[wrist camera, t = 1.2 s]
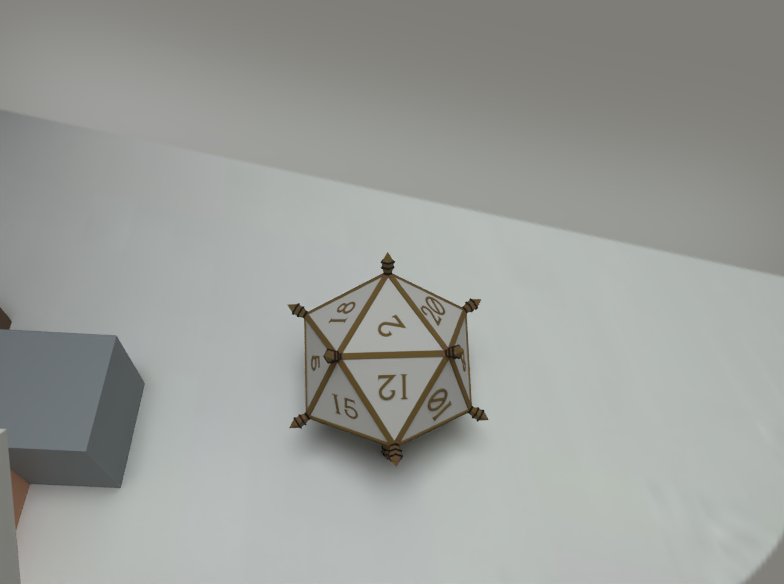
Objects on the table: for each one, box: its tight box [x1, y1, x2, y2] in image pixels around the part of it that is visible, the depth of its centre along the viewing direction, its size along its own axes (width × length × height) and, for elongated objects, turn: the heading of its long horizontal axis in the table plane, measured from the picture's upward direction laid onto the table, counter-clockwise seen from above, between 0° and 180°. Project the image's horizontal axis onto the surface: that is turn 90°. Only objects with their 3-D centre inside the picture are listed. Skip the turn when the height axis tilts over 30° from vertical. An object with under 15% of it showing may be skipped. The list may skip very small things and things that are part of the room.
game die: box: [288, 252, 488, 466], centre depth 31 cm, size 9×8×10 cm
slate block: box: [0, 329, 145, 488], centre depth 31 cm, size 5×5×5 cm
